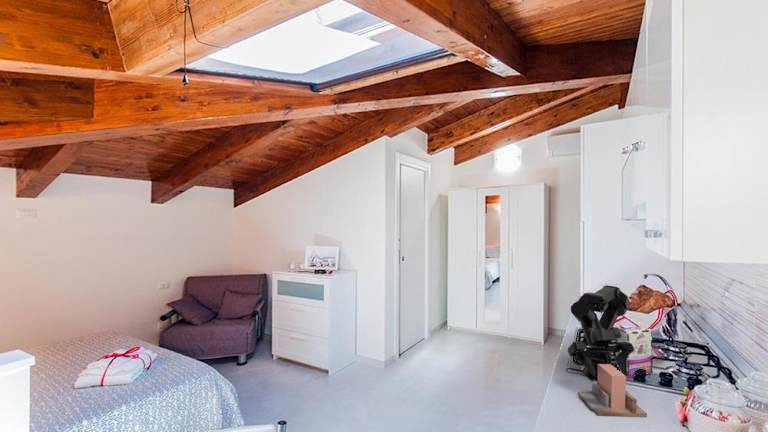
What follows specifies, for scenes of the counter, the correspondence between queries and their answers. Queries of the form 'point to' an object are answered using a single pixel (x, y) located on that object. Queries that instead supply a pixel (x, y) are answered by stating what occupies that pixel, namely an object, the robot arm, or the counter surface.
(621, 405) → the pink rectangular block
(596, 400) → the book rack
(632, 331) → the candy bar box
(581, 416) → the counter surface
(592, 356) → the robot arm
